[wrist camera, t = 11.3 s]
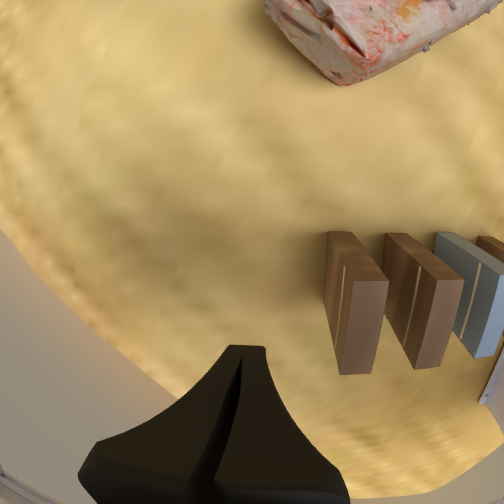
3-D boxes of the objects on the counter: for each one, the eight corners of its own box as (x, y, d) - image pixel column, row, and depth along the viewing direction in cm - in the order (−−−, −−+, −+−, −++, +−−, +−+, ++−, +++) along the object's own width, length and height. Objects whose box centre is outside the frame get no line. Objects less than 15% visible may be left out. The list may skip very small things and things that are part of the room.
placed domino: (454, 232, 19) (520, 274, 12) (442, 296, 21) (493, 355, 13) (436, 231, 19) (500, 274, 12) (425, 296, 21) (473, 358, 13)
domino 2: (407, 233, 20) (464, 279, 12) (397, 300, 21) (439, 366, 14) (385, 232, 20) (436, 280, 12) (377, 300, 21) (413, 369, 14)
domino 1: (352, 232, 20) (389, 281, 12) (345, 300, 21) (370, 373, 14) (327, 231, 20) (353, 281, 12) (323, 300, 22) (339, 374, 14)
